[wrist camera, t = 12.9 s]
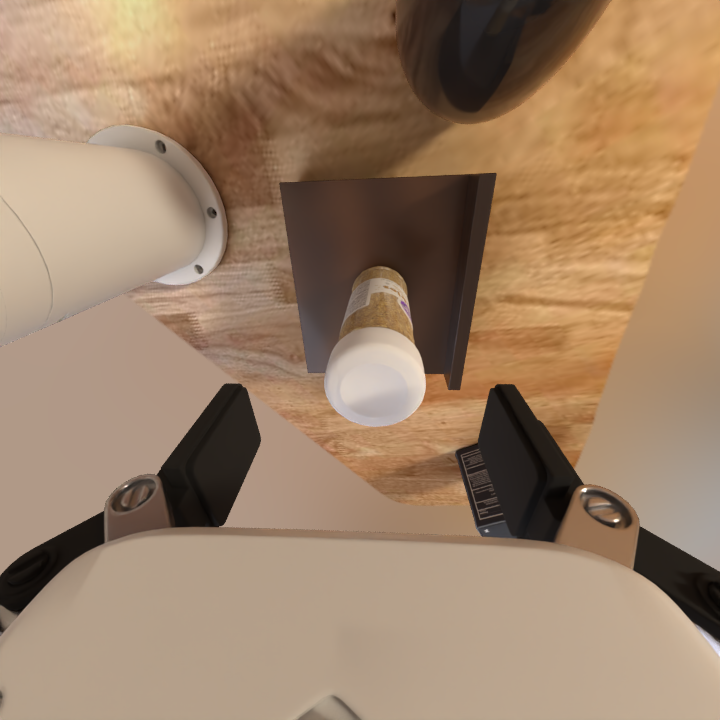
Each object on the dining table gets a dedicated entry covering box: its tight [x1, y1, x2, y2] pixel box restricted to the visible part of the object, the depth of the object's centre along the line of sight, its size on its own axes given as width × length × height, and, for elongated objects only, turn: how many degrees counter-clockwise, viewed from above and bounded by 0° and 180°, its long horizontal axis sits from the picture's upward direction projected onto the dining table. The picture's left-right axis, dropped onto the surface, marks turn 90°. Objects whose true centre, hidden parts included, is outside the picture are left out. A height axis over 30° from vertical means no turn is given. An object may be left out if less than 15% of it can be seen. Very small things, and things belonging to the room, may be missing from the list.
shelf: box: [279, 173, 496, 390], centre depth 25 cm, size 14×16×8 cm
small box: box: [455, 444, 517, 539], centre depth 35 cm, size 11×6×10 cm, turn 121°
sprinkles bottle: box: [324, 266, 426, 426], centre depth 19 cm, size 5×5×14 cm
